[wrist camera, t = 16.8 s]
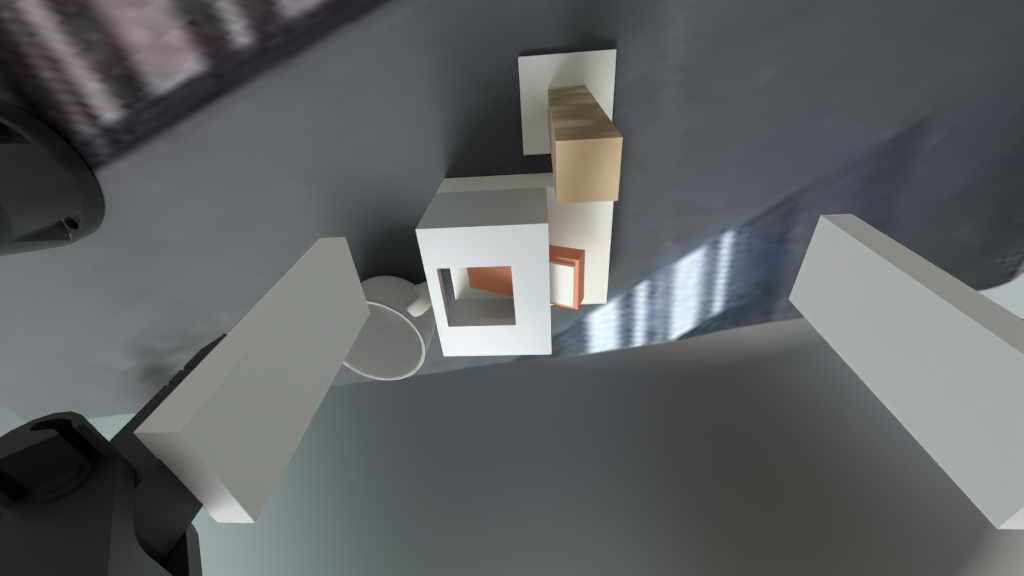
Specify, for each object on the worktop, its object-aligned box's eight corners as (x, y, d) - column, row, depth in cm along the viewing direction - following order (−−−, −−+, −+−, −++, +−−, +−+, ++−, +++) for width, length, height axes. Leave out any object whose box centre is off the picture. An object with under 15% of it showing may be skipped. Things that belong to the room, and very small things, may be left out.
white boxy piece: (462, 287, 47) (443, 356, 38) (444, 178, 40) (415, 229, 30) (601, 282, 46) (618, 353, 36) (608, 169, 39) (631, 219, 29)
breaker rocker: (478, 277, 41) (467, 289, 39) (472, 233, 38) (460, 243, 37) (583, 298, 37) (576, 312, 35) (585, 250, 34) (577, 262, 32)
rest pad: (523, 153, 38) (523, 155, 38) (518, 56, 34) (518, 57, 33) (609, 148, 38) (610, 149, 37) (615, 49, 33) (616, 49, 33)
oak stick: (548, 126, 36) (556, 203, 21) (547, 87, 35) (555, 141, 20) (584, 124, 36) (617, 200, 21) (585, 85, 34) (622, 137, 19)
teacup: (392, 346, 53) (371, 393, 47) (333, 286, 48) (300, 329, 42) (479, 304, 49) (470, 350, 42) (423, 234, 44) (403, 272, 37)
